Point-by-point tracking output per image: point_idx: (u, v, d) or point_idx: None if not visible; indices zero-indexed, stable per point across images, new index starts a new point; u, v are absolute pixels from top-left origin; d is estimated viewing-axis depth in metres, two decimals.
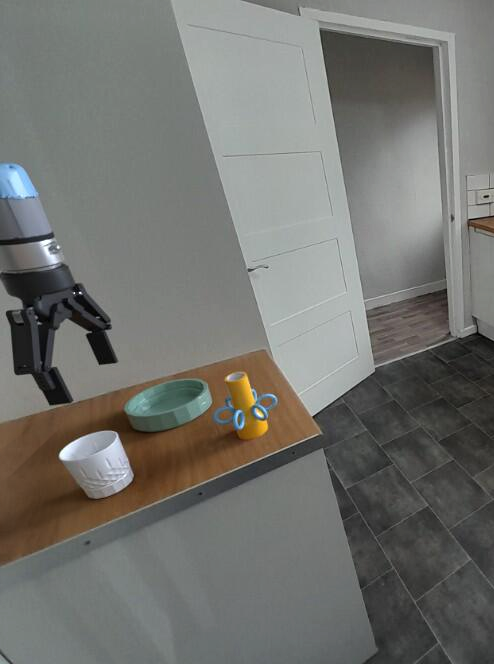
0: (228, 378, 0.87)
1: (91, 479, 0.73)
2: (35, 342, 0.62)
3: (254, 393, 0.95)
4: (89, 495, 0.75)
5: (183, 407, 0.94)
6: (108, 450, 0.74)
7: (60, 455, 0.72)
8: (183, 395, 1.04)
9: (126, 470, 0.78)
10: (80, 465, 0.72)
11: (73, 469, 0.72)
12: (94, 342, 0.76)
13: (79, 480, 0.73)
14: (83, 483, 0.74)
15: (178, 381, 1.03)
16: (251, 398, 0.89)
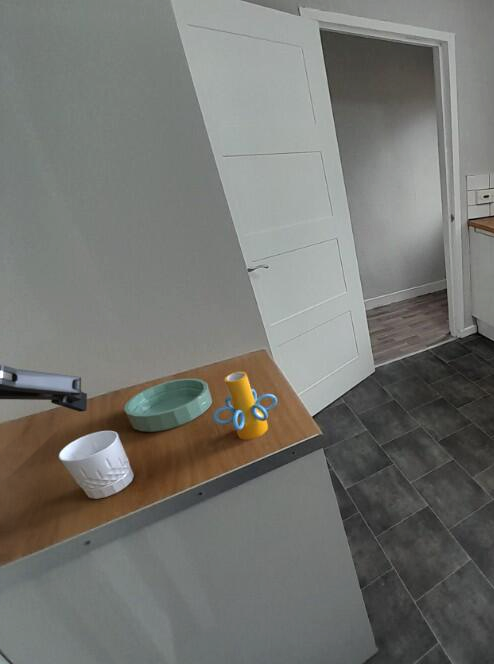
0: (228, 378, 0.87)
1: (91, 479, 0.73)
2: None
3: (254, 393, 0.95)
4: (89, 495, 0.75)
5: (183, 407, 0.94)
6: (108, 450, 0.74)
7: (60, 455, 0.72)
8: (183, 395, 1.04)
9: (126, 470, 0.78)
10: (80, 465, 0.72)
11: (73, 469, 0.72)
12: None
13: (79, 480, 0.73)
14: (83, 483, 0.74)
15: (178, 381, 1.03)
16: (251, 398, 0.89)
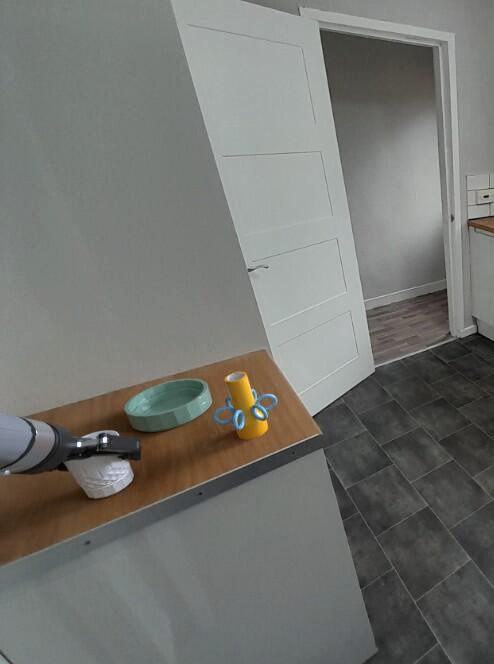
0: (228, 378, 0.87)
1: (91, 479, 0.73)
2: None
3: (254, 393, 0.95)
4: (89, 495, 0.75)
5: (183, 407, 0.94)
6: None
7: None
8: (183, 395, 1.04)
9: (126, 470, 0.78)
10: (81, 464, 0.72)
11: (73, 468, 0.72)
12: None
13: (79, 479, 0.73)
14: (83, 483, 0.74)
15: (178, 381, 1.03)
16: (251, 398, 0.89)
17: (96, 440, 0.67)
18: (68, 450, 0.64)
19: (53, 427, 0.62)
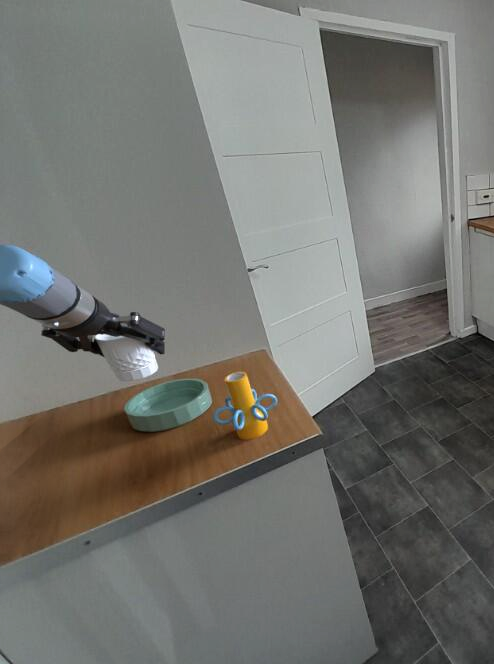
0: (228, 378, 0.87)
1: (122, 361, 0.82)
2: (62, 343, 0.76)
3: (254, 393, 0.95)
4: (119, 378, 0.84)
5: (183, 407, 0.94)
6: None
7: (96, 337, 0.81)
8: (183, 395, 1.04)
9: (152, 359, 0.87)
10: (113, 345, 0.81)
11: (107, 349, 0.81)
12: None
13: (111, 361, 0.82)
14: (115, 364, 0.83)
15: (178, 381, 1.03)
16: (251, 398, 0.89)
17: (128, 317, 0.76)
18: (105, 320, 0.73)
19: (93, 297, 0.71)
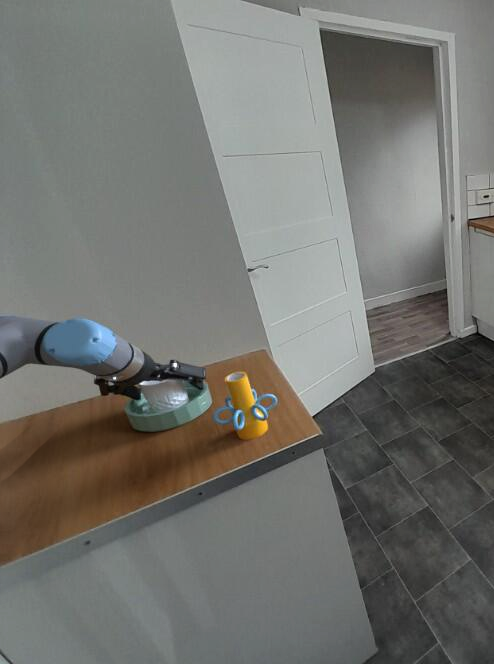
0: (228, 378, 0.87)
1: (161, 402, 0.94)
2: (103, 389, 0.86)
3: (254, 393, 0.95)
4: None
5: (183, 407, 0.94)
6: None
7: None
8: None
9: (185, 398, 0.98)
10: (154, 389, 0.92)
11: (148, 392, 0.92)
12: None
13: (152, 402, 0.93)
14: (155, 405, 0.94)
15: None
16: (251, 398, 0.89)
17: (168, 365, 0.87)
18: (151, 370, 0.84)
19: (141, 351, 0.82)
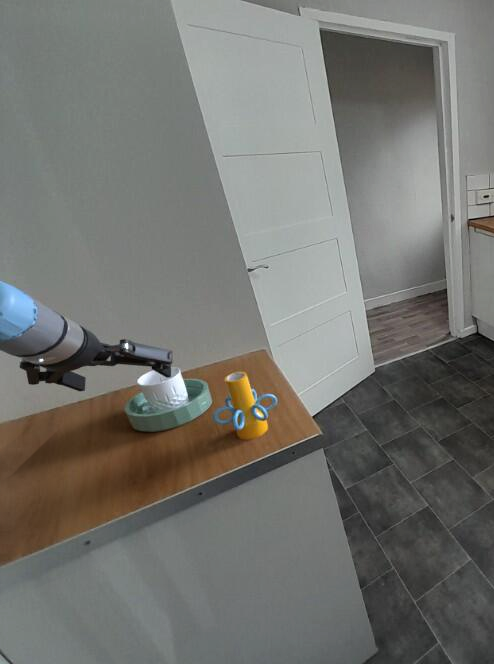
0: (228, 378, 0.87)
1: (161, 402, 0.94)
2: (32, 376, 0.68)
3: (254, 393, 0.95)
4: None
5: (183, 407, 0.94)
6: (174, 379, 0.94)
7: (138, 382, 0.92)
8: None
9: (185, 398, 0.98)
10: (154, 389, 0.92)
11: (148, 392, 0.92)
12: None
13: (152, 402, 0.93)
14: (155, 405, 0.94)
15: None
16: (251, 398, 0.89)
17: (117, 346, 0.70)
18: (95, 351, 0.67)
19: (81, 327, 0.65)
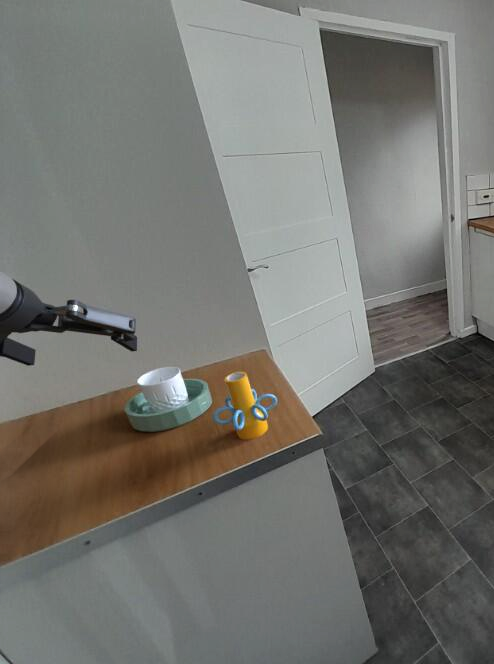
0: (228, 378, 0.87)
1: (161, 402, 0.94)
2: None
3: (254, 393, 0.95)
4: None
5: (183, 407, 0.94)
6: (174, 379, 0.94)
7: (138, 382, 0.92)
8: None
9: (185, 398, 0.98)
10: (154, 389, 0.92)
11: (148, 392, 0.92)
12: None
13: (152, 402, 0.93)
14: (155, 405, 0.94)
15: None
16: (251, 398, 0.89)
17: (63, 307, 0.58)
18: (34, 312, 0.55)
19: (16, 282, 0.54)
